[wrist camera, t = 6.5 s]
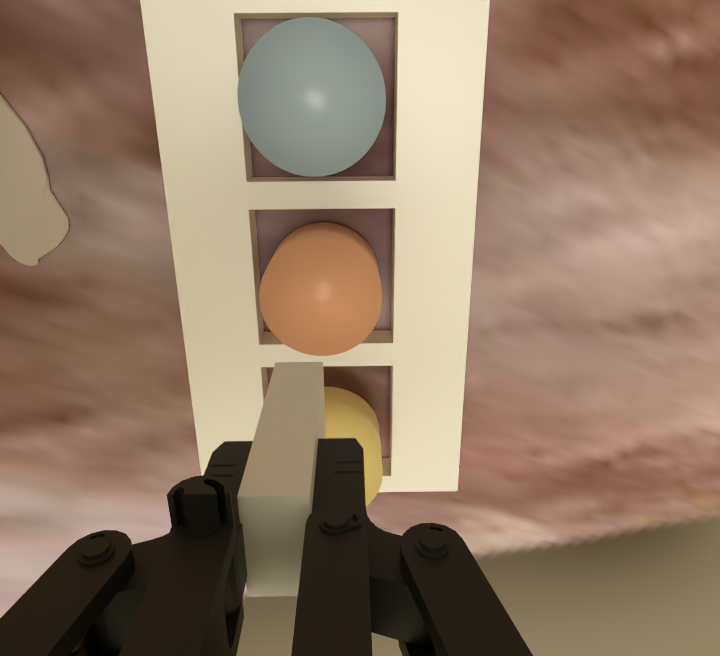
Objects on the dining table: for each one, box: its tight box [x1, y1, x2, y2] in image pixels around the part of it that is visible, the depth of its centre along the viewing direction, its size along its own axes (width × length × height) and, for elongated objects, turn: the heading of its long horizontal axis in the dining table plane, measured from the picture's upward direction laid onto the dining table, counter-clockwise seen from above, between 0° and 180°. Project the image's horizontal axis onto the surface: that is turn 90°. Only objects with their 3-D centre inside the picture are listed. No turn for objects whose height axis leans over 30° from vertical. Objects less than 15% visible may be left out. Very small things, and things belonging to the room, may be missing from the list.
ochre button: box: [324, 387, 383, 506], centre depth 32 cm, size 6×6×4 cm
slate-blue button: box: [237, 17, 386, 177], centre depth 25 cm, size 6×6×4 cm
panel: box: [140, 0, 490, 492], centre depth 32 cm, size 16×28×2 cm, turn 0°
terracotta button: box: [259, 222, 383, 356], centre depth 30 cm, size 6×6×4 cm
